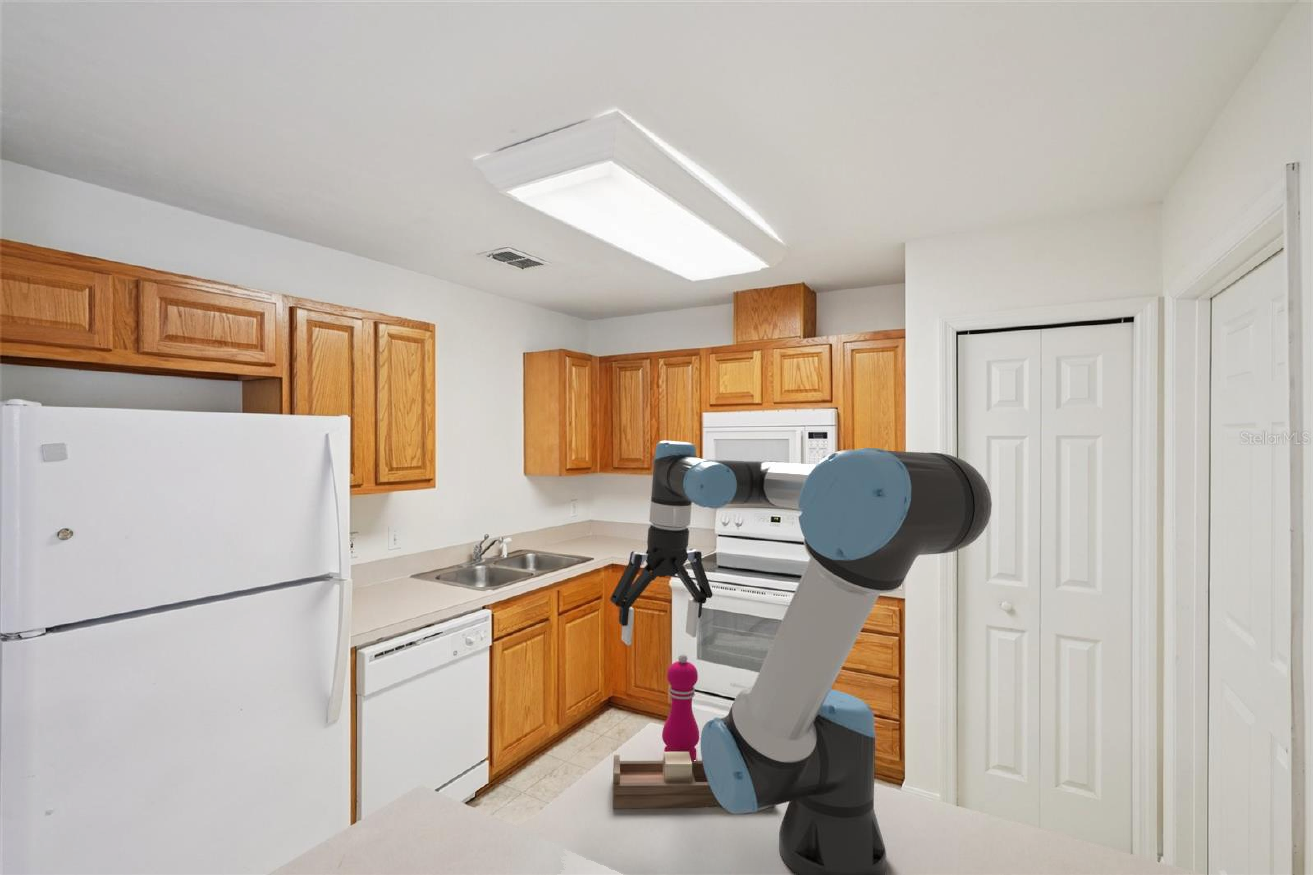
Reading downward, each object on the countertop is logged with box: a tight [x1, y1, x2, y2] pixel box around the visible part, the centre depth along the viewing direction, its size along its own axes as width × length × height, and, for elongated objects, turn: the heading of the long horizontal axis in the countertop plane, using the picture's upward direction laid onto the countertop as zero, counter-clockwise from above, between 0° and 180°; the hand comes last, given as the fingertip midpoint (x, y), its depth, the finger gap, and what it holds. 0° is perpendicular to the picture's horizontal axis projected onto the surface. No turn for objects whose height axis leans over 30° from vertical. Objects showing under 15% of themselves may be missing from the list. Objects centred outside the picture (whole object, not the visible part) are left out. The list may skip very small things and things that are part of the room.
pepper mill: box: [661, 653, 700, 761], centre depth 119 cm, size 7×7×20 cm
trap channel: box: [612, 754, 775, 809], centre depth 106 cm, size 9×27×5 cm, turn 94°
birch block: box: [662, 751, 692, 782], centre depth 106 cm, size 4×4×4 cm
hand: (659, 638), depth 113 cm, fingers open, 13 cm apart
